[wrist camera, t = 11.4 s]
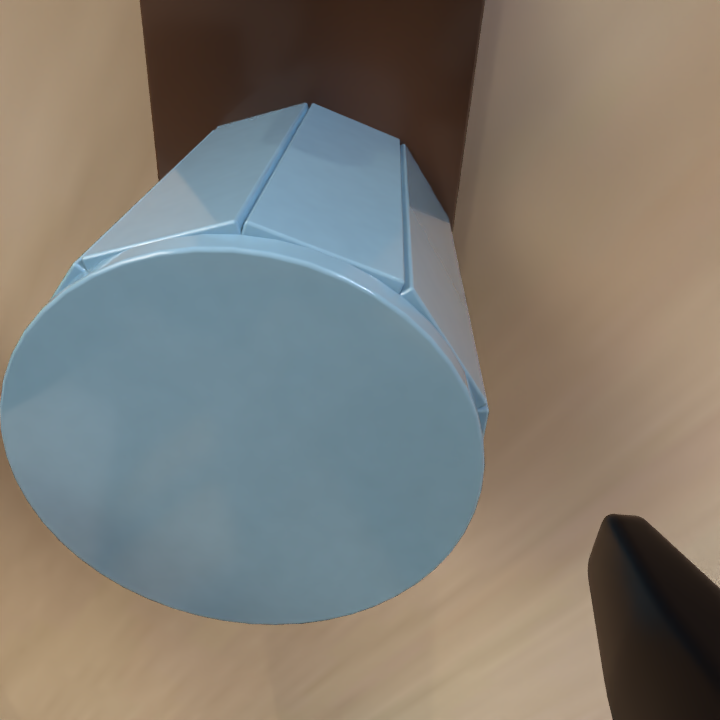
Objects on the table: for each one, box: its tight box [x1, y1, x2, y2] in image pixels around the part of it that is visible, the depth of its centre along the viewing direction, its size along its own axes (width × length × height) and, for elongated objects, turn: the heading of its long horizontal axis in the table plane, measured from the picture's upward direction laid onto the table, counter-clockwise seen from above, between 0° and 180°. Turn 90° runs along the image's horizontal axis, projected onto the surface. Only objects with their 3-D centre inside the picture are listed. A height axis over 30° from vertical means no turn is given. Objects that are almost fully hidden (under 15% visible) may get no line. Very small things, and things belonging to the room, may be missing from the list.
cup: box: [0, 103, 489, 625], centre depth 13 cm, size 7×7×8 cm
